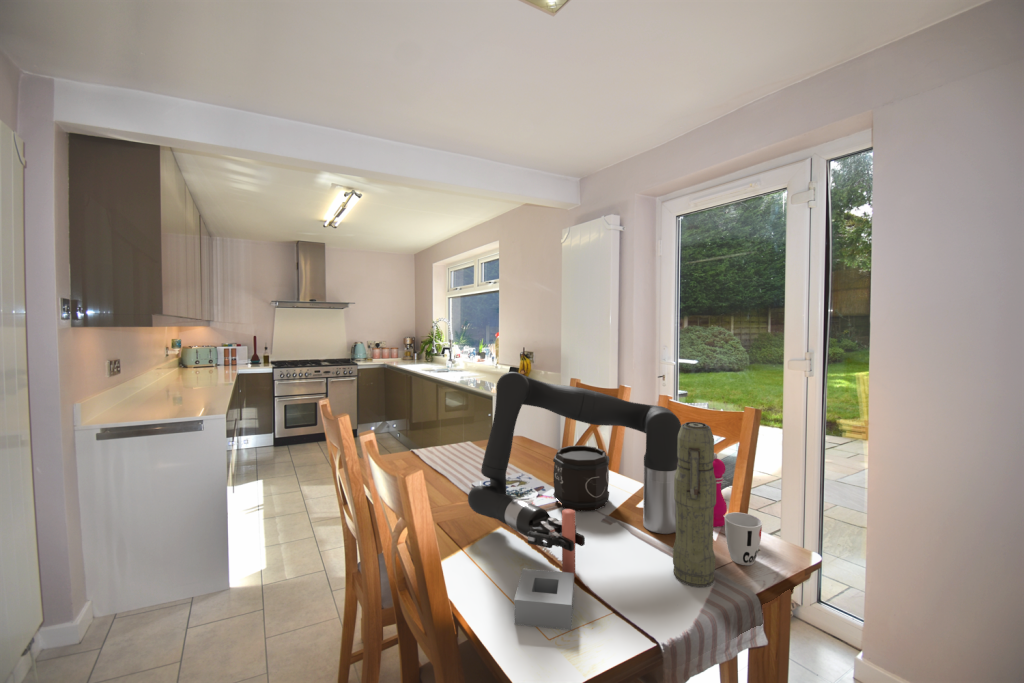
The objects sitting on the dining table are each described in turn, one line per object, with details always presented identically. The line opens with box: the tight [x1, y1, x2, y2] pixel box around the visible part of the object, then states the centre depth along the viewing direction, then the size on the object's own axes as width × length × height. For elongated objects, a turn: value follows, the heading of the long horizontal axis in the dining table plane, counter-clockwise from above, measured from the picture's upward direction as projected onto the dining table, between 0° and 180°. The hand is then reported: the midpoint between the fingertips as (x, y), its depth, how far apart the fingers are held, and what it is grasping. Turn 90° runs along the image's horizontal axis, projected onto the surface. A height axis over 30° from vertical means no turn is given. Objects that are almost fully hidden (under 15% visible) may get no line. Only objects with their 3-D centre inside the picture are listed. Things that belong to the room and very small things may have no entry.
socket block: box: [513, 568, 575, 631], centre depth 96 cm, size 11×11×5 cm
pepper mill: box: [713, 452, 728, 528], centre depth 133 cm, size 7×7×20 cm
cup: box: [724, 511, 763, 566], centre depth 114 cm, size 8×8×10 cm
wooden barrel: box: [552, 445, 610, 512], centre depth 150 cm, size 18×18×16 cm
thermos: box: [672, 421, 716, 588], centre depth 106 cm, size 9×12×35 cm
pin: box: [561, 508, 576, 578], centre depth 108 cm, size 3×3×15 cm
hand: (578, 543), depth 105 cm, fingers closed on pin, 3 cm apart
